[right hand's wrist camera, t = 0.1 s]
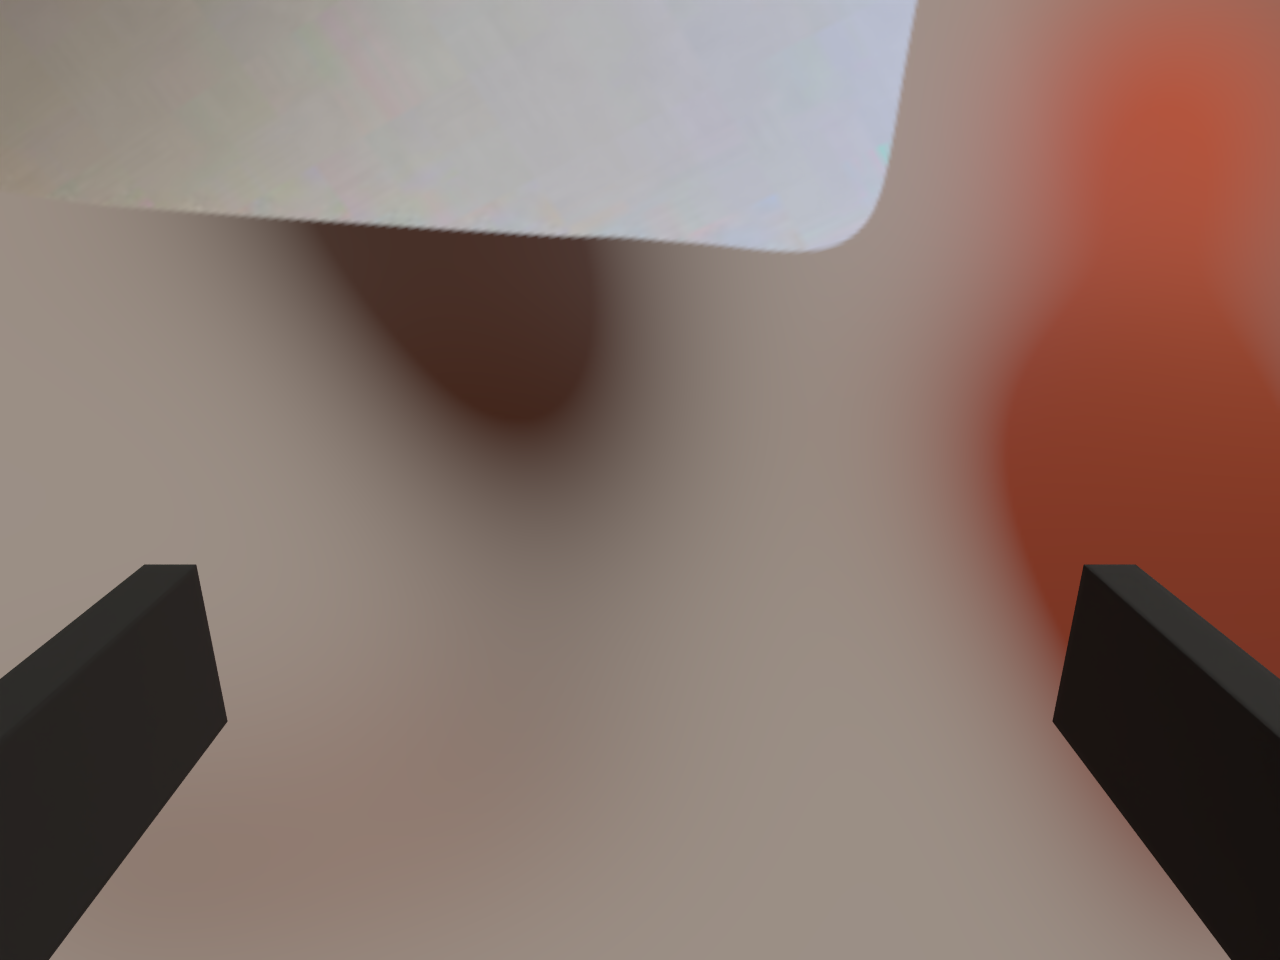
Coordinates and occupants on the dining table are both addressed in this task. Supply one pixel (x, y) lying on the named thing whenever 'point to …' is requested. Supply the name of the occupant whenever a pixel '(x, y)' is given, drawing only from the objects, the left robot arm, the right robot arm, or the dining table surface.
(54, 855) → the right robot arm
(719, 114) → the dining table surface
